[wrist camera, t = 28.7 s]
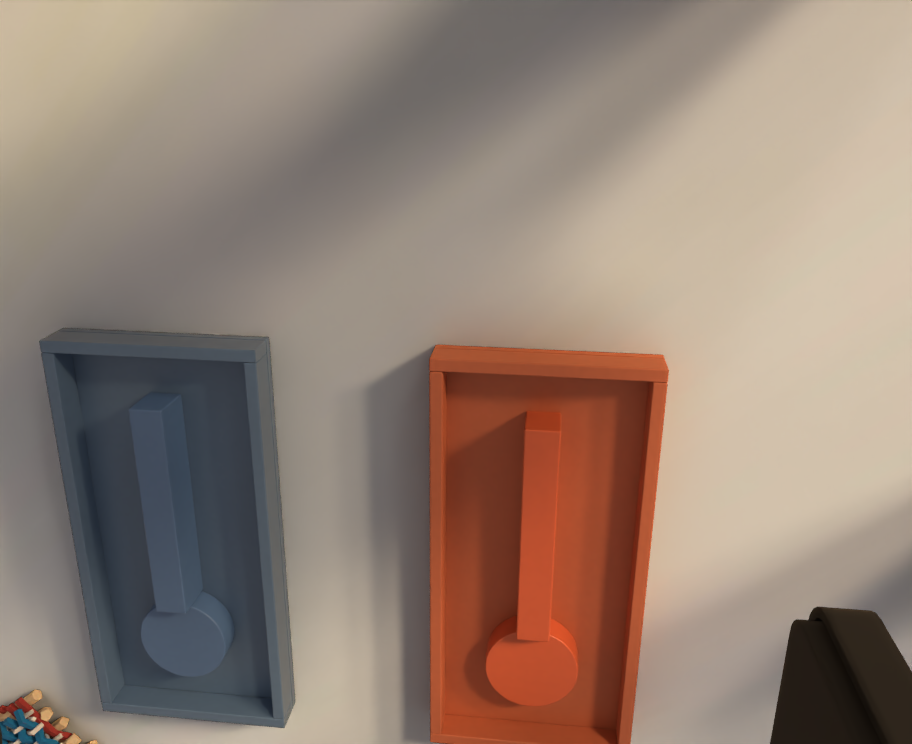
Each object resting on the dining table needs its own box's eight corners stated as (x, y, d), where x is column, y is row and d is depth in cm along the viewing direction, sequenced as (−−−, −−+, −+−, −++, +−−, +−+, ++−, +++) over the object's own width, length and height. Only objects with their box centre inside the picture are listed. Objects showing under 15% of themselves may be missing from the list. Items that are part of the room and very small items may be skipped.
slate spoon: (120, 390, 40) (96, 407, 38) (211, 394, 40) (192, 412, 37) (157, 656, 45) (138, 684, 43) (238, 663, 45) (223, 691, 43)
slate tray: (62, 327, 40) (38, 340, 38) (269, 336, 39) (254, 350, 37) (120, 685, 47) (102, 711, 45) (295, 701, 46) (284, 728, 44)
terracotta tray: (435, 344, 38) (429, 358, 36) (663, 354, 37) (669, 369, 35) (435, 714, 45) (429, 742, 43) (625, 732, 44) (628, 761, 42)
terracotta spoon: (493, 408, 38) (489, 427, 36) (594, 413, 38) (596, 433, 36) (486, 683, 43) (482, 714, 41) (575, 691, 43) (575, 722, 41)
